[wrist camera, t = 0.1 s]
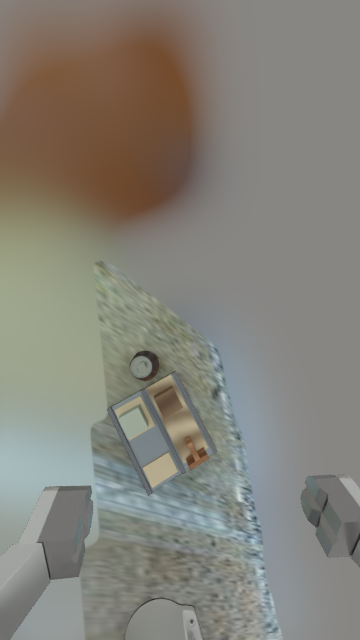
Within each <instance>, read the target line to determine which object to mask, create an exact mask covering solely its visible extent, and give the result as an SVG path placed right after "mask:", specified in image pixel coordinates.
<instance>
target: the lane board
mask: <svg viewBox="0 0 360 640" xmlns="http://www.w3.org/2000/svg"><path fill="white" fill-rule="evenodd" d="M168 376H169V375H168ZM171 376H172V378H173V380H174V382H175V384H176V386H177V388H178V390H179V392H180V394H181V395H182V397H183V399H184V401H185V403H186V405H187V407H188V409H189V411H190V413H191V415H192V417H193V419H194V421H195V422H196V424H197V426H198V428H199V430H200V432H201V434H202V436H203V438H204V440H205V442H206V444H207V446H208V448H207V449H206V450H205V451H206V452H207V454H208V456H209V455H210V454H212V453H214V454H215V453H216V452H217V450H216V448H215V446H214V444H213V442H212V440H211V438H210V436H209V434H208V432H207V431H206V429H205V427H204V425H203V423H202V421H201V419H200V417H199V415H198V413H197V411H196V409H195V408H194V406H193V404H192V402H191V400H190V398H189V396H188V394H187V392H186V390H185V388H184V386H183V384H182V383H181V381H180V379H179V377H178V375H177V373H176V371H175V372H173V373H171ZM166 377H167V376H166ZM164 378H165V377H164ZM162 379H163V378H162ZM159 381H160V380H159ZM157 382H158V381H157ZM155 383H156V382H155ZM153 384H154V383H153ZM151 385H152V384H151ZM148 387H149V386H148ZM146 388H147V387H146ZM146 388H144V389H142V390H141V391H139V392H137V393H135V394H133V395H132V396H130V397H128V398H126V399H124V400H123V401H121V402H119V403H117V404H115V405H114V406H112V407H110V408H108V409H107V411H108V413H109V415H110V417H111V419H112V421H113V423H114V425H115V427H116V430H117V432H118V434H119V436H120V438H121V440H122V442H123V444H124V446H125V448H126V450H127V452H128V454H129V456H130V459H131V461H132V463H133V465H134V467H135V469H136V471H137V473H138V475H139V477H140V479H141V481H142V483H143V486H144V488H145V490H146V492H147V494H148V496H149V495H150V494H152V491H154V490H155V489H157V488H158V487H160V486H162V485H163V484H165V483H166V482H168V481H169V480H171V479H173V478H174V477H176V476H177V475H179V474H181V473H182V474H183V473H185V472H186V471H185V470H187V469H188V468H189V467H188V464H187V462H185V463H183V461H182V459H181V457H180V455H179V453H178V451H177V449H176V447H175V445H174V443H173V441H172V439H171V437H170V435H169V433H168V431H167V429H166V427H165V425H164V423H163V421H162V419H161V417H160V415H159V413H158V411H157V409H156V407H155V405H154V403H153V401H152V400H151V398H150V396H149V394H148V392H147V390H146ZM138 404H140V405H141V407H142V409H143V411H144V413H145V415H146V417H147V419H148V421H149V425H148V428H147V429H145V430H144V431H142V432H140V433H139V434H137V435H135V436H133V437H132V438H130V439H127V437H126V435H125V433H124V431H123V429H122V427H121V425H120V423H119V420H118V418H119V416H120V415H121V414H122V413H124V412H125V411H127V410H129V409H131V408H132V407H134V406H136V405H138Z"/></svg>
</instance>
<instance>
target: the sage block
mask: <svg viewBox="0 0 360 640" xmlns="http://www.w3.org/2000/svg"><path fill="white" fill-rule="evenodd" d="M118 420H119V423H120V425H121V427H122V429H123V431H124V433H125V435H126V437H127V439H130V438H132V437H133V436H135V435H137V434H139V433H140V432H142V431H144V430H145V429H147V428H148V425H149V421H148V419H147V417H146V415H145V413H144V411H143V409H142V407H141V405H140V404H138V405H136V406H134V407H132V408H131V409H129V410H127V411H125V412H124V413H122V414H121V415H120V416H119V418H118Z"/></svg>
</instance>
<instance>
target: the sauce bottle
mask: <svg viewBox="0 0 360 640" xmlns="http://www.w3.org/2000/svg"><path fill="white" fill-rule="evenodd" d="M160 365H161V364H160V359H159V358H158V356H157V355H156V354H154V353H152V352H149V351H141V352H139V353H137V354H136V355H135V356H134V357H133V359H132V361H131V363H130V370H131V373H132V374H133V376H134V377H136V378H137V379H139V380H143V381H144V380H145V381H146V380H150V379H152V378H153V377H154V376H156V374H157V373H158V371H159V369H160Z"/></svg>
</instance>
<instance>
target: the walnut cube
mask: <svg viewBox="0 0 360 640" xmlns="http://www.w3.org/2000/svg"><path fill="white" fill-rule="evenodd" d="M154 400H155V402H156V404H157V406H158V408H159V410H160V412H161V414H162V416H163V418H164V419H165V418H166V417H168V416H170V415H171V414H173V413H175V412H177V411H178V410H180V409H182V408H183V406H182V404H181V402H180V400H179V398H178V396H177V394H176V392H175V390H174V388H173V387H172V386H170V387H168V388H166V389H165V390H163V391H161V392H159V393H158V394H156V395H154Z"/></svg>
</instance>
